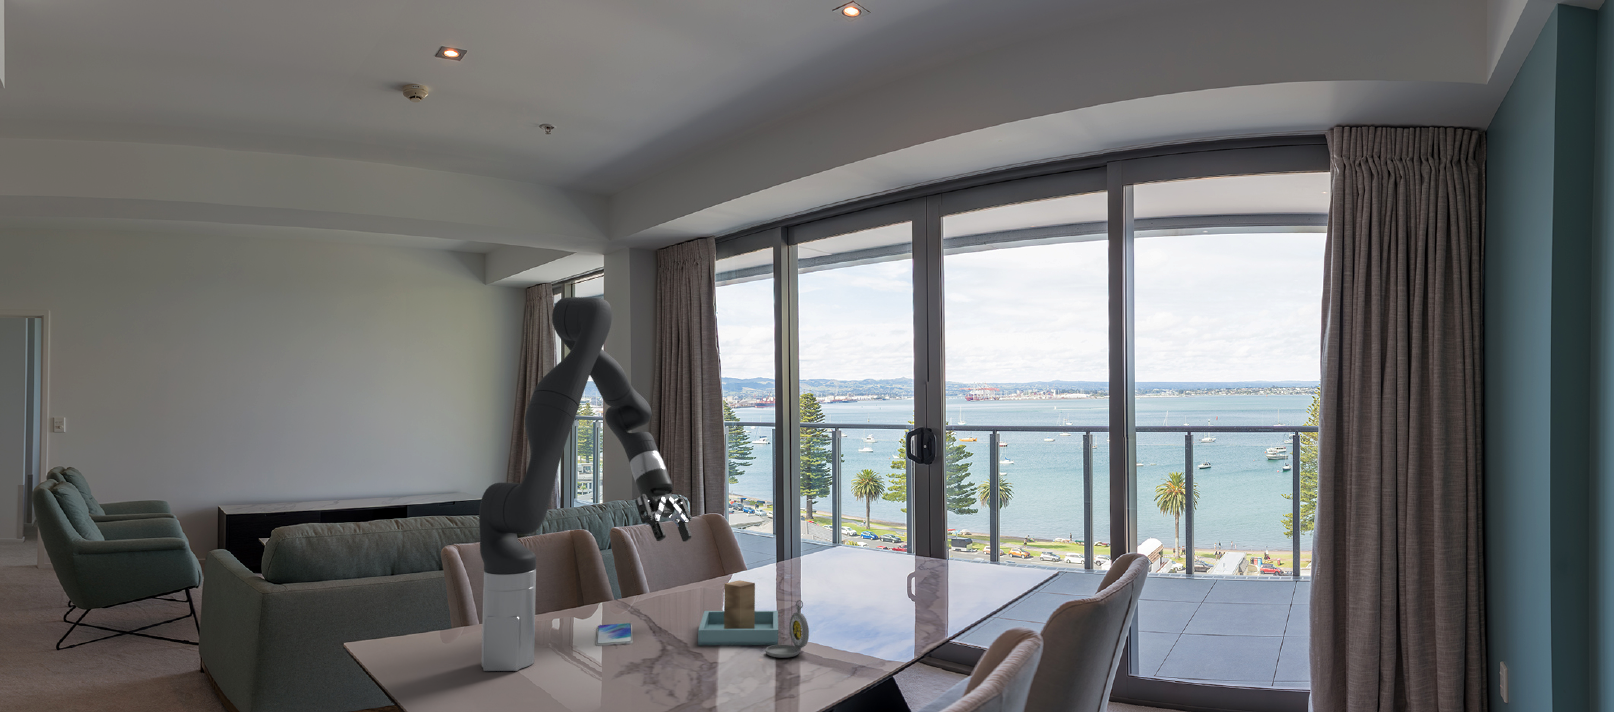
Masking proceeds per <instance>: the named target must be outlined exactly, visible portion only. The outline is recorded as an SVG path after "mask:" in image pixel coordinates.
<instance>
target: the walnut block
mask: <svg viewBox="0 0 1614 712" xmlns="http://www.w3.org/2000/svg"><path fill="white" fill-rule="evenodd" d="M723 597H724V604H723V605H724V607H723V608H724V610H723V611H724V629H755V611H756V610H755V609H756V607H755V606H756V604H755V603H756V599H755V598H756V583H755V582H750V581H745V580H740V579H739V580H734V581H730V582H726V583H724V596H723Z"/></svg>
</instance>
